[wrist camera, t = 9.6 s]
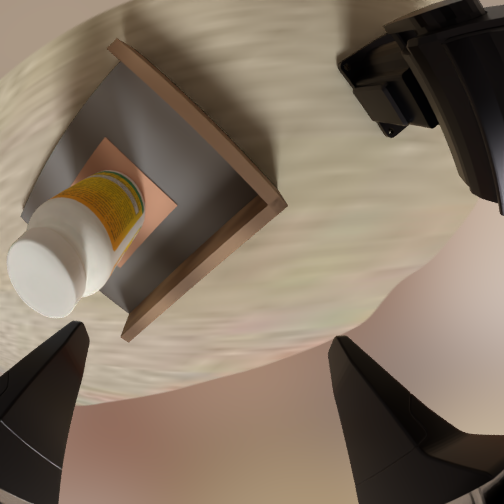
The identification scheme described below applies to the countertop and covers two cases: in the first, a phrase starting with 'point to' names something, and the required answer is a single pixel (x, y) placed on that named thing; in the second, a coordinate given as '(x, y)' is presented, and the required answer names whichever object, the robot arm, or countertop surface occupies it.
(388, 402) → the robot arm
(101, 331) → the countertop surface
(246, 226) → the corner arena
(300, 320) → the countertop surface
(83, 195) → the supplement bottle
